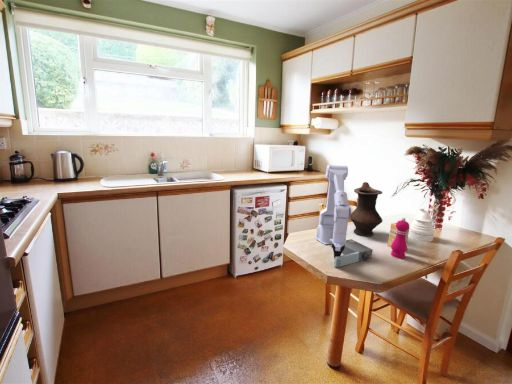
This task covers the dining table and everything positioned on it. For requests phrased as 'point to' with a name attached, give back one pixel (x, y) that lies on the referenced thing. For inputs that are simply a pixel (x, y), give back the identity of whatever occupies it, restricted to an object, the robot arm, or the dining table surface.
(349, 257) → the side door
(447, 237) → the dining table surface
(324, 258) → the dining table surface
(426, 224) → the honey pot
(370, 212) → the jug
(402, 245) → the pepper mill
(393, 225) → the supplement box
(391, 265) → the dining table surface
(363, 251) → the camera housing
